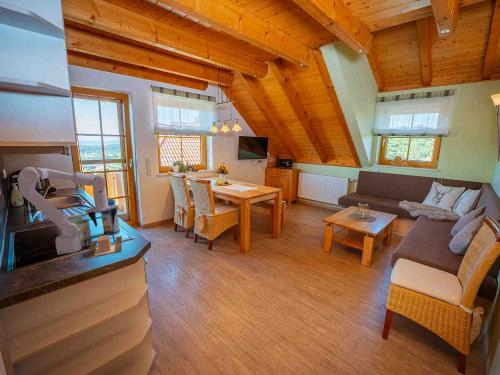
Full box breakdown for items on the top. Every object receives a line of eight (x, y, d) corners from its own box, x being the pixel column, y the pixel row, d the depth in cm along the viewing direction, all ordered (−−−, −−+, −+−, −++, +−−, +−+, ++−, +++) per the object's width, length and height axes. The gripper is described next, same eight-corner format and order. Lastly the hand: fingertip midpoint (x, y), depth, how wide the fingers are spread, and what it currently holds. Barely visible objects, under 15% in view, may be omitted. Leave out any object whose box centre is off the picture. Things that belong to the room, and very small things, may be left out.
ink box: (79, 243, 126) (75, 219, 124) (73, 243, 127) (69, 219, 124) (91, 238, 133) (87, 215, 130) (85, 237, 134) (81, 214, 131)
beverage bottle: (121, 234, 138) (117, 200, 134) (104, 237, 133) (99, 203, 129) (119, 229, 145) (114, 197, 141) (102, 233, 140) (98, 200, 136)
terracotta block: (99, 252, 112) (97, 240, 111) (100, 247, 117) (98, 236, 116) (110, 250, 114) (108, 238, 113) (110, 245, 119) (109, 234, 118)
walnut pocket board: (86, 261, 107) (86, 259, 107) (92, 243, 126) (91, 241, 126) (121, 254, 113) (121, 251, 113) (121, 238, 132) (121, 235, 132)
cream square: (94, 256, 109) (94, 255, 109) (96, 248, 117) (96, 247, 117) (114, 252, 113) (114, 251, 113) (114, 244, 121) (114, 244, 121)
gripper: (82, 203, 115) (87, 229, 117) (116, 198, 121) (120, 224, 124) (84, 199, 121) (89, 225, 124) (117, 196, 127) (120, 220, 130)
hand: (105, 224), depth 124 cm, fingers open, 7 cm apart
